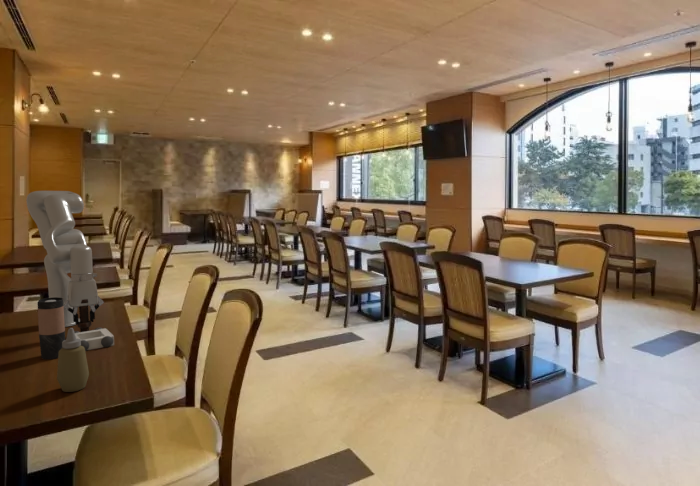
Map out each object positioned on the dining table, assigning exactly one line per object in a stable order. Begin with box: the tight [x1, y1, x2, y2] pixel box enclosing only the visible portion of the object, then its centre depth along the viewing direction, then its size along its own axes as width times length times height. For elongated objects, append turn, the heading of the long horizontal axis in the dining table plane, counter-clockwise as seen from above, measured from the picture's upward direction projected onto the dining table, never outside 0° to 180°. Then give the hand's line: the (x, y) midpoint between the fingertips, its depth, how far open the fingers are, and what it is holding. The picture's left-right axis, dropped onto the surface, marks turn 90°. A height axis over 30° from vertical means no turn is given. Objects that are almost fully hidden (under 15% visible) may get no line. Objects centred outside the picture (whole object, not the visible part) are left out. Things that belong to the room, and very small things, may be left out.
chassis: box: [74, 327, 115, 352], centre depth 175 cm, size 15×13×4 cm
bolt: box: [76, 299, 93, 332], centre depth 186 cm, size 6×5×15 cm
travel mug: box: [36, 297, 66, 360], centre depth 162 cm, size 8×8×20 cm
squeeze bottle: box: [56, 327, 90, 393], centre depth 135 cm, size 8×8×18 cm
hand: (84, 321), depth 186 cm, fingers closed on bolt, 4 cm apart
